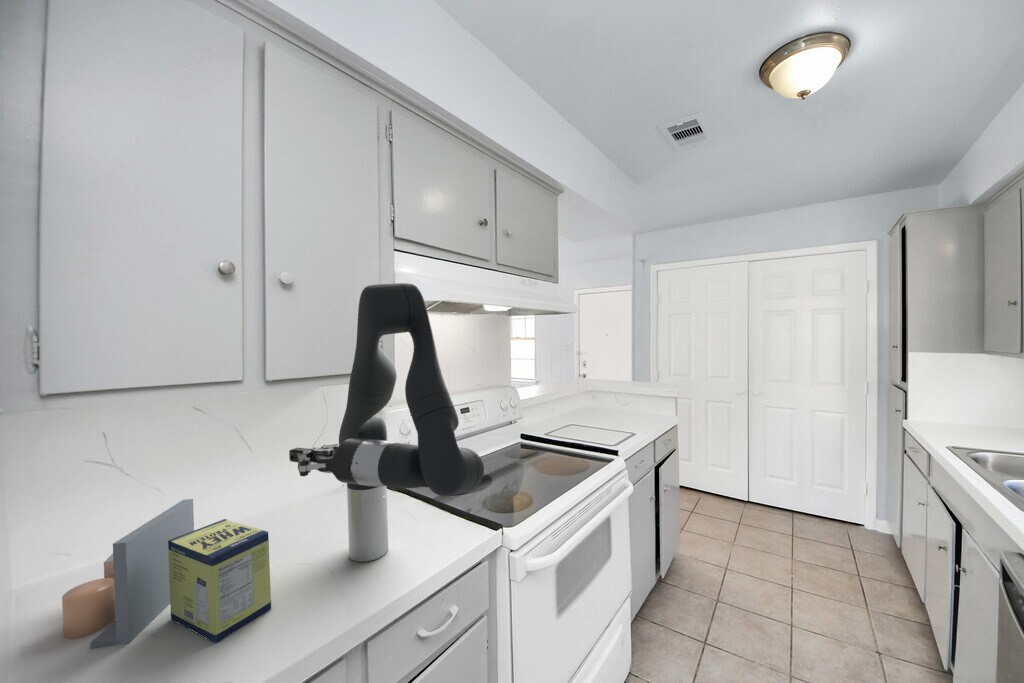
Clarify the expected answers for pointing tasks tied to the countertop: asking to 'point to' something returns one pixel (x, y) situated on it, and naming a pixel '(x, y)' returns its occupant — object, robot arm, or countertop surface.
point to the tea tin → (109, 568)
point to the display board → (144, 573)
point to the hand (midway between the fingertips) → (292, 454)
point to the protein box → (219, 578)
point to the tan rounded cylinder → (88, 608)
